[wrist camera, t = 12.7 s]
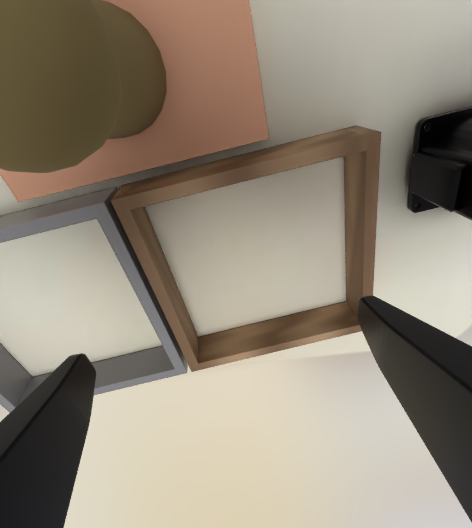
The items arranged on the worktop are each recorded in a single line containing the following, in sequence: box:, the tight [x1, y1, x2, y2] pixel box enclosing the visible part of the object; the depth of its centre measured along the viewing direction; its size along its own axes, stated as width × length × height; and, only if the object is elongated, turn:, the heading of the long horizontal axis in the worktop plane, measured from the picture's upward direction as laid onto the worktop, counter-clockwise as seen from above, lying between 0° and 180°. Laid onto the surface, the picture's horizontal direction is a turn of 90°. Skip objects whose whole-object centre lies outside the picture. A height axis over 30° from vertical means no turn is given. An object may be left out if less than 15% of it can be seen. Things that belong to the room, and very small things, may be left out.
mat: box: [0, 0, 269, 202], centre depth 16 cm, size 16×10×1 cm, turn 102°
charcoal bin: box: [0, 187, 187, 412], centre depth 22 cm, size 16×16×3 cm
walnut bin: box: [111, 126, 381, 372], centre depth 22 cm, size 16×16×3 cm
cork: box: [0, 0, 167, 173], centre depth 11 cm, size 6×6×11 cm
